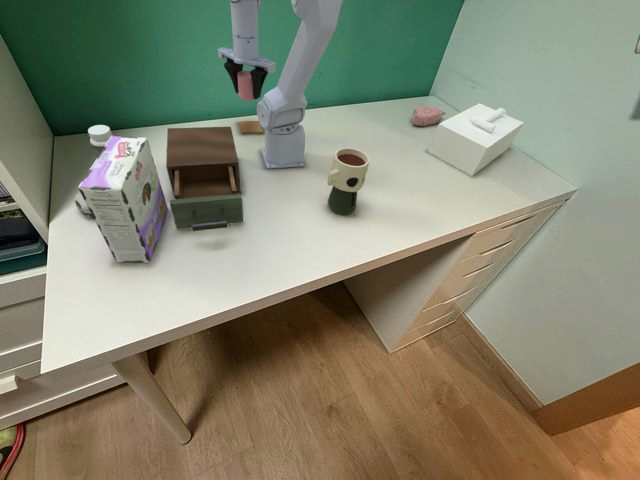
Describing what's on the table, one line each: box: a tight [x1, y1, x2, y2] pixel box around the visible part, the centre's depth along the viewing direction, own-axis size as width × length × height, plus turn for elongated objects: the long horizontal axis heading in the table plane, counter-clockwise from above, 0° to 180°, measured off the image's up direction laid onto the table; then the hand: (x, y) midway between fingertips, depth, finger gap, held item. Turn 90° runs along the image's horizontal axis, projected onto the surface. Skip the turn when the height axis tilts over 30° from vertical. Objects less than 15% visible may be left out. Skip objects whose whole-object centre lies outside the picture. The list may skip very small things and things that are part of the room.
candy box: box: [77, 135, 169, 264], centre depth 55 cm, size 14×6×16 cm, turn 5°
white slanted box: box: [427, 102, 525, 177], centre depth 95 cm, size 14×25×11 cm, turn 134°
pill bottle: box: [87, 124, 114, 158], centre depth 71 cm, size 5×5×8 cm
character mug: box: [327, 146, 371, 215], centre depth 69 cm, size 11×7×13 cm, turn 130°
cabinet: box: [165, 126, 242, 199], centre depth 72 cm, size 15×14×8 cm
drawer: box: [169, 166, 245, 232], centre depth 64 cm, size 18×12×6 cm
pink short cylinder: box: [237, 70, 257, 102], centre depth 82 cm, size 5×5×6 cm
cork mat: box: [238, 120, 264, 135], centre depth 92 cm, size 6×6×1 cm
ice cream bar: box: [411, 106, 446, 127], centre depth 107 cm, size 6×4×15 cm
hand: (247, 94), depth 84 cm, fingers closed on pink short cylinder, 5 cm apart
